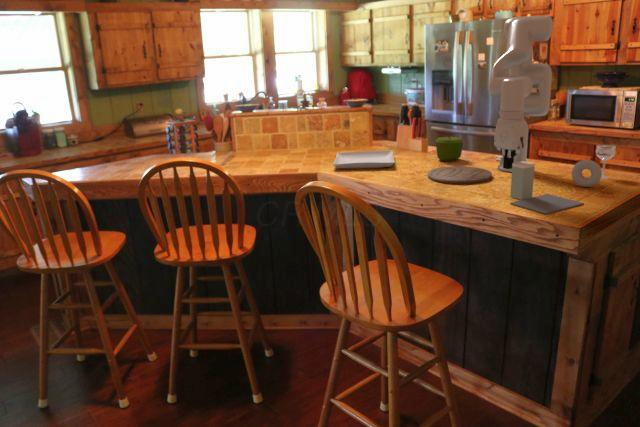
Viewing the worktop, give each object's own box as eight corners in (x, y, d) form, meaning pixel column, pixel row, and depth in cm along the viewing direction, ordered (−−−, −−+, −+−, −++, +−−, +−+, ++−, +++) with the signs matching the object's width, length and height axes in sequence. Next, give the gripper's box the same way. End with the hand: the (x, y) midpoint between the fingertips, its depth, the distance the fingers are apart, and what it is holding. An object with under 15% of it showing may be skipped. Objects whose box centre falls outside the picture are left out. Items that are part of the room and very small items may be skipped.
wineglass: (607, 180, 199) (610, 148, 196) (589, 177, 205) (592, 146, 201) (616, 177, 203) (619, 146, 199) (598, 174, 208) (601, 143, 205)
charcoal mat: (510, 204, 176) (510, 202, 176) (547, 195, 184) (547, 193, 184) (545, 214, 164) (545, 213, 164) (583, 204, 172) (583, 203, 172)
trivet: (498, 173, 219) (498, 168, 218) (482, 188, 198) (482, 183, 198) (439, 168, 231) (439, 164, 231) (418, 182, 211) (418, 177, 210)
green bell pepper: (457, 163, 237) (458, 138, 234) (431, 161, 243) (431, 137, 240) (465, 158, 247) (466, 134, 244) (440, 156, 253) (441, 132, 250)
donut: (601, 187, 190) (604, 160, 187) (598, 189, 188) (601, 162, 185) (572, 184, 197) (574, 157, 194) (568, 186, 194) (571, 159, 191)
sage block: (510, 197, 184) (512, 163, 181) (520, 194, 186) (522, 161, 183) (521, 200, 180) (524, 165, 176) (532, 197, 182) (534, 163, 179)
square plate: (392, 157, 258) (392, 149, 257) (394, 170, 232) (394, 161, 231) (337, 158, 261) (337, 151, 260) (333, 171, 235) (332, 163, 234)
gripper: (487, 114, 185) (484, 166, 191) (520, 118, 172) (517, 173, 178) (502, 112, 188) (499, 163, 194) (537, 116, 176) (532, 170, 181)
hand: (508, 168), depth 186 cm, fingers closed
